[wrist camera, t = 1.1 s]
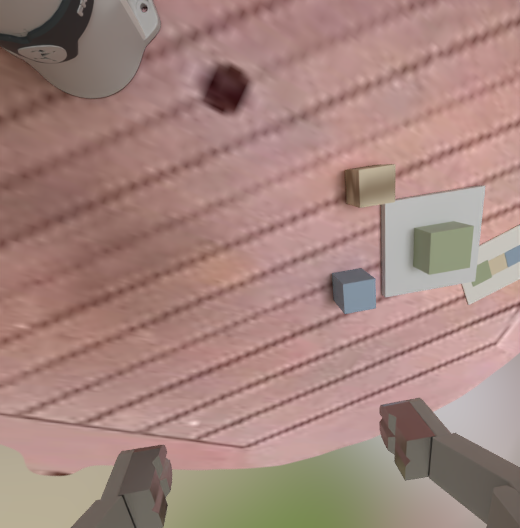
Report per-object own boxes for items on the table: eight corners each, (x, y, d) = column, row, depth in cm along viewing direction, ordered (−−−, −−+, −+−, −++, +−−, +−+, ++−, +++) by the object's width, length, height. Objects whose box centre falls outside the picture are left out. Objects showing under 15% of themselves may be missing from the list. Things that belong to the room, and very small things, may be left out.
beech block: (344, 169, 43) (358, 170, 38) (377, 164, 43) (395, 164, 38) (346, 203, 45) (360, 207, 40) (377, 198, 45) (395, 202, 40)
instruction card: (453, 258, 49) (455, 259, 49) (530, 218, 48) (532, 218, 48) (467, 304, 52) (469, 305, 52) (540, 267, 52) (542, 268, 51)
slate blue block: (331, 273, 48) (343, 284, 43) (361, 267, 48) (375, 278, 43) (333, 300, 50) (344, 313, 45) (361, 295, 50) (375, 308, 45)
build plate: (381, 201, 45) (399, 205, 40) (479, 185, 46) (509, 187, 41) (381, 294, 50) (398, 308, 45) (469, 278, 51) (495, 290, 46)
